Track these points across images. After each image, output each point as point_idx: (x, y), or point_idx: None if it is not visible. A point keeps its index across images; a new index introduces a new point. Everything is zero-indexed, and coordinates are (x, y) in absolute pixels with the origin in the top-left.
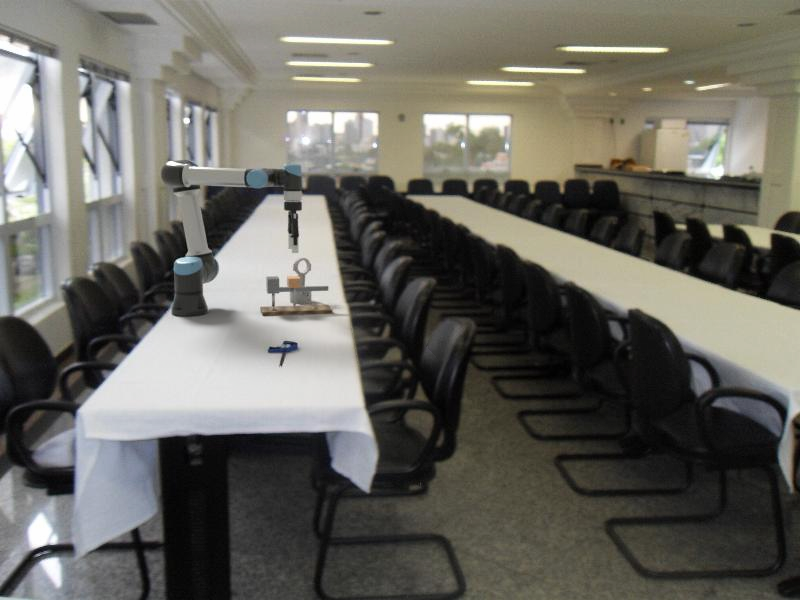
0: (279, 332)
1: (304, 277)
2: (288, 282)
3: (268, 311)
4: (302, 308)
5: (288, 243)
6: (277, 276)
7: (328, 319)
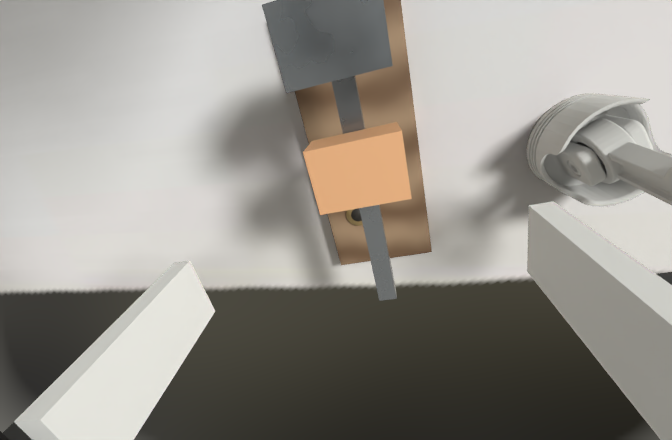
0: (47, 124)
1: (656, 194)
2: (318, 144)
3: None
4: None
5: (587, 236)
6: (389, 64)
7: (255, 250)
